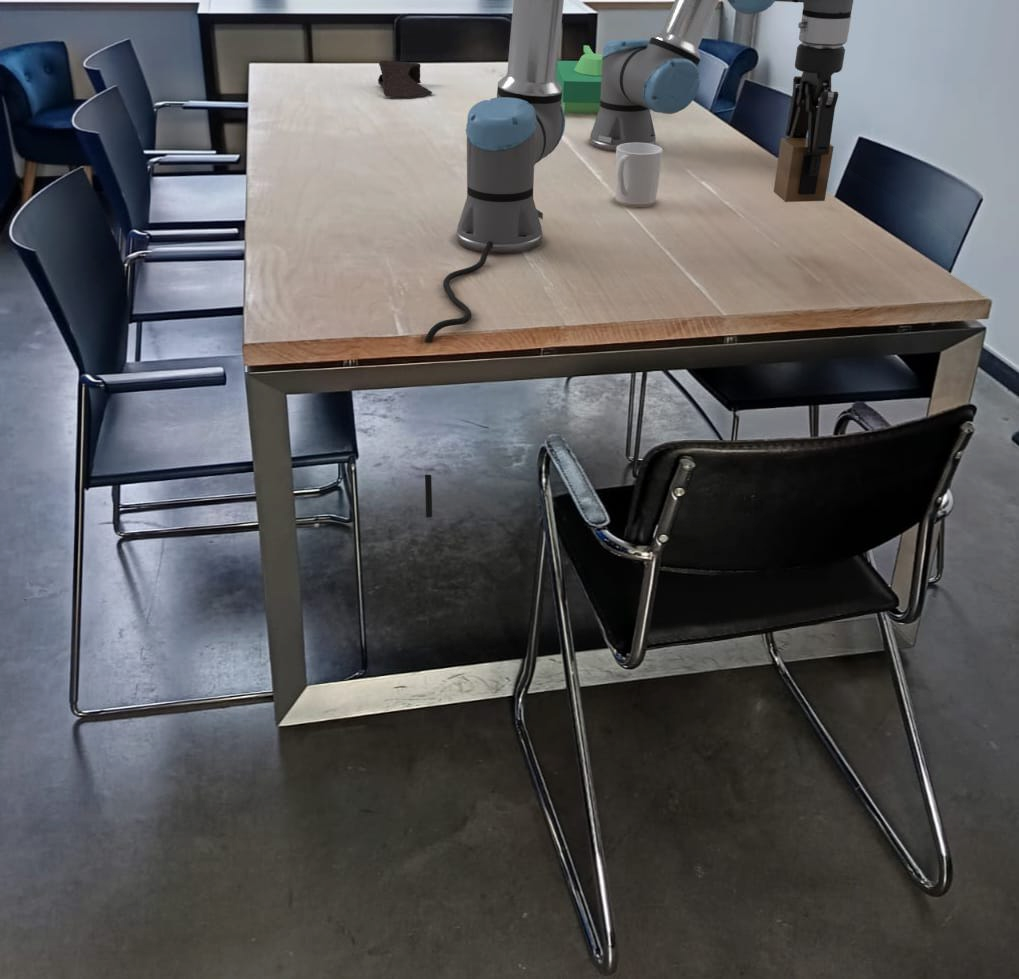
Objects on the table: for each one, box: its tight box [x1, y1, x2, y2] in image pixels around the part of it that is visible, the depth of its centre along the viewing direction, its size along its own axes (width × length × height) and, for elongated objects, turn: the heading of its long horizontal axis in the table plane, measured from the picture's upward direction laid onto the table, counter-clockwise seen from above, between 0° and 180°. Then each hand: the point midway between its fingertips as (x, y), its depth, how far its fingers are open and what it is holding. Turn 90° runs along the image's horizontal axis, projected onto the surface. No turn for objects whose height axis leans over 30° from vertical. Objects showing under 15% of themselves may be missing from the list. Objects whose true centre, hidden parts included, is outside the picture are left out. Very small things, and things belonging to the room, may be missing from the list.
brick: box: [773, 137, 835, 203], centre depth 186 cm, size 7×6×9 cm
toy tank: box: [555, 44, 603, 115], centre depth 290 cm, size 18×12×35 cm
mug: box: [614, 143, 664, 208], centre depth 214 cm, size 11×9×10 cm
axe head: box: [377, 59, 433, 99], centre depth 299 cm, size 18×8×15 cm
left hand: (799, 187), depth 187 cm, fingers closed on brick, 6 cm apart
